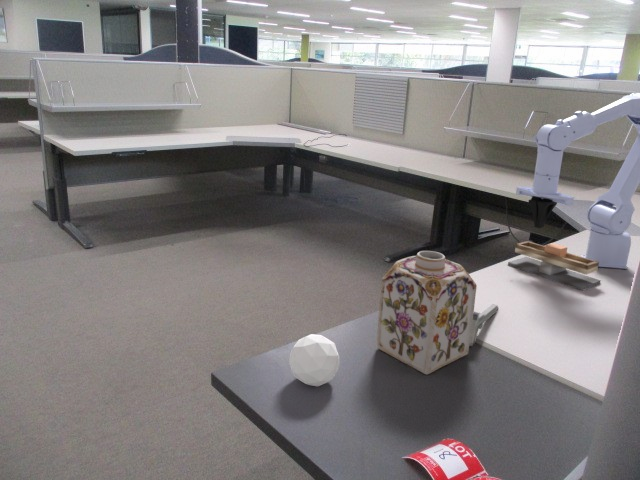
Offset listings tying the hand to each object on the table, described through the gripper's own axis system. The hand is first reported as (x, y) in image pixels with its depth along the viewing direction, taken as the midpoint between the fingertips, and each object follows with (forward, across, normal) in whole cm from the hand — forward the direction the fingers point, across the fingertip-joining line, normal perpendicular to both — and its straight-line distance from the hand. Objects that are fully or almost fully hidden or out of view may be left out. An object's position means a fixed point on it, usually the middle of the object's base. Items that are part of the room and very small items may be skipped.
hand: (538, 227), depth 136 cm
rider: (+5, +7, -2) cm, 9 cm away
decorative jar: (+10, +16, -59) cm, 62 cm away
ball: (+10, +13, -80) cm, 82 cm away
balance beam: (+10, +7, -2) cm, 12 cm away
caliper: (+10, +15, -41) cm, 45 cm away
